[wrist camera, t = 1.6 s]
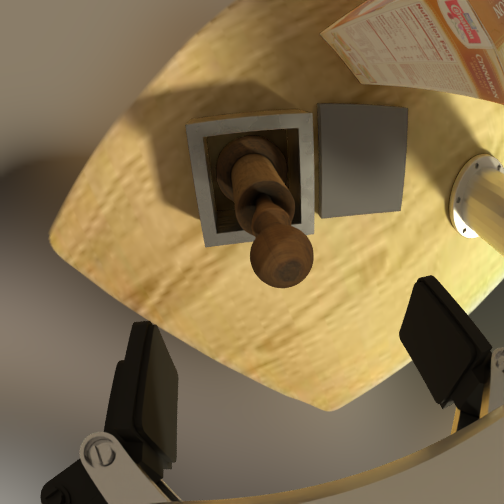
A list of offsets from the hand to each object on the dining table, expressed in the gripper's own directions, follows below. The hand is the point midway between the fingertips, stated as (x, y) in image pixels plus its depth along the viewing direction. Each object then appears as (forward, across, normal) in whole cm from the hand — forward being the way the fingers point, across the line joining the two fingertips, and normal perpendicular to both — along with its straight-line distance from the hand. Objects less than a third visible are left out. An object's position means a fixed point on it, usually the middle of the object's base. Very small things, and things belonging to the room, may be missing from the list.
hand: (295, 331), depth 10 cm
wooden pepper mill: (+22, -1, 0) cm, 22 cm away
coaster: (+21, -13, 0) cm, 25 cm away
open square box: (+22, -1, 0) cm, 22 cm away
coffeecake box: (+22, -16, -15) cm, 31 cm away
